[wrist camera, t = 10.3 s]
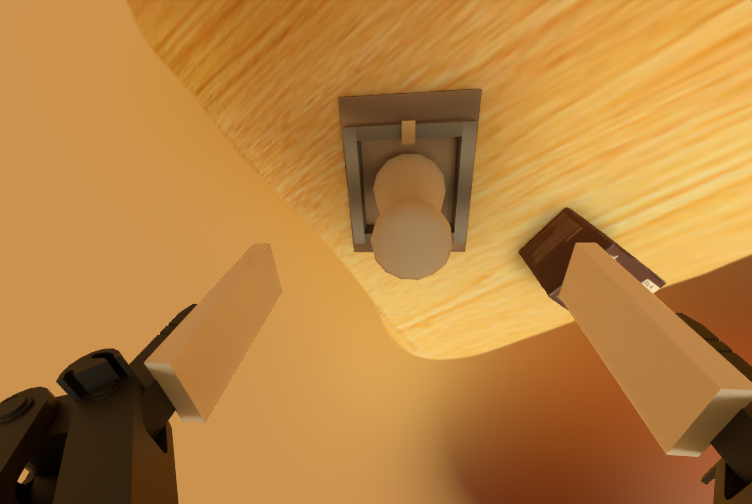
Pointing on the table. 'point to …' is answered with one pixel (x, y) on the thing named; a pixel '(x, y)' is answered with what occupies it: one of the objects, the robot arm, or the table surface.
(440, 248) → the salt shaker
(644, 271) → the box
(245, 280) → the robot arm
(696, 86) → the table surface
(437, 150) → the base
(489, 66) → the table surface
